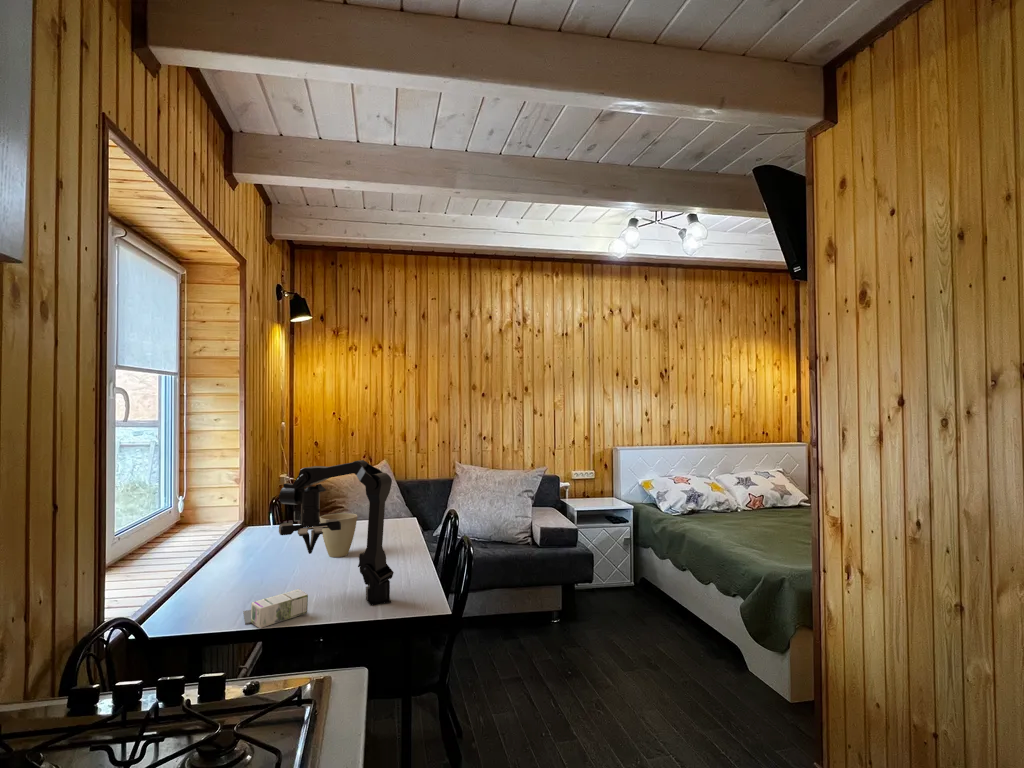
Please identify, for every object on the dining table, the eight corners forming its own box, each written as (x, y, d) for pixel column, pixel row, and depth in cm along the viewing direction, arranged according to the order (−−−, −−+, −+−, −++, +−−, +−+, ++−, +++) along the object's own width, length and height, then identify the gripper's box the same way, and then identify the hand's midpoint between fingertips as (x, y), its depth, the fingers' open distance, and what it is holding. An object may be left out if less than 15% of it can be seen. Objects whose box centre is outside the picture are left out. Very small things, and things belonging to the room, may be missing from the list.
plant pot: (364, 554, 240) (364, 515, 240) (331, 561, 229) (331, 521, 230) (344, 549, 250) (345, 511, 251) (312, 555, 239) (313, 516, 240)
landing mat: (293, 604, 179) (293, 603, 179) (298, 616, 169) (298, 614, 169) (243, 612, 172) (243, 610, 172) (245, 624, 163) (245, 623, 163)
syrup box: (298, 588, 174) (250, 601, 163) (308, 594, 170) (259, 608, 159) (298, 607, 174) (249, 621, 163) (308, 613, 170) (259, 629, 159)
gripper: (335, 499, 202) (334, 545, 201) (277, 504, 193) (276, 551, 193) (341, 504, 192) (341, 552, 192) (281, 509, 184) (280, 559, 183)
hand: (309, 553), depth 190 cm, fingers closed
